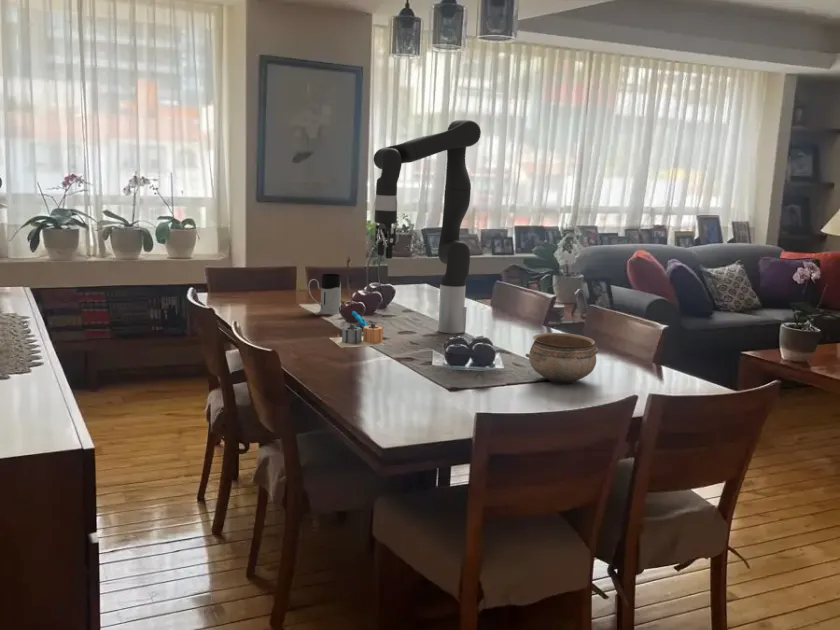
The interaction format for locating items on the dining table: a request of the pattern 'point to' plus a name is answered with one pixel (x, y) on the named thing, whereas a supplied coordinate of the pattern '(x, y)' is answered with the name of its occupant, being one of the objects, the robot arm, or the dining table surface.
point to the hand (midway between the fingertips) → (384, 256)
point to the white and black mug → (329, 293)
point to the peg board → (339, 342)
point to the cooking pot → (562, 356)
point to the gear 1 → (352, 335)
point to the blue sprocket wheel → (359, 319)
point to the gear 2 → (372, 334)
